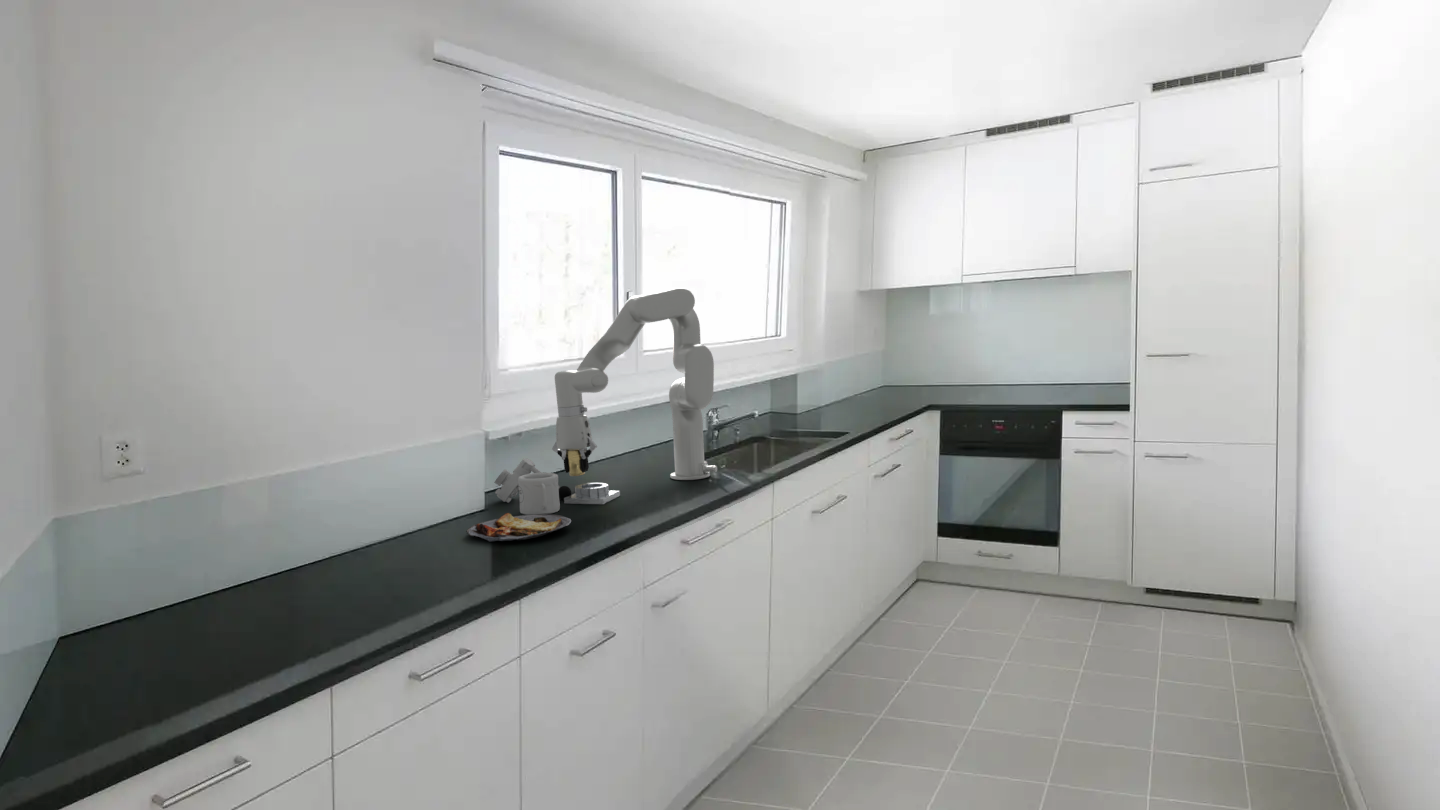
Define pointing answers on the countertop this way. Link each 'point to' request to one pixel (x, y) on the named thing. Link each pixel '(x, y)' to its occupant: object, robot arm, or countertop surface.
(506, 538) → the food plate
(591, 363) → the robot arm
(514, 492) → the valve
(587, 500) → the flange plate
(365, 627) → the countertop surface
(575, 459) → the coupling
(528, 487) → the mug
